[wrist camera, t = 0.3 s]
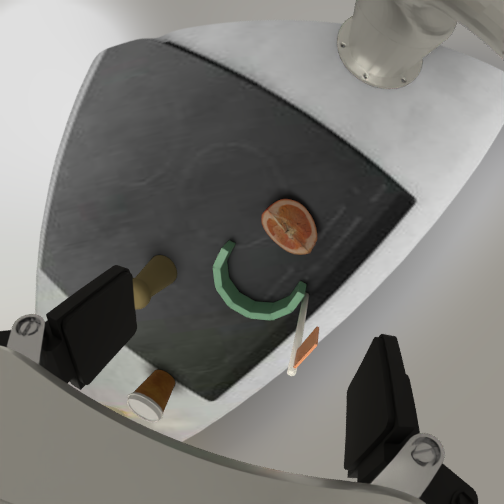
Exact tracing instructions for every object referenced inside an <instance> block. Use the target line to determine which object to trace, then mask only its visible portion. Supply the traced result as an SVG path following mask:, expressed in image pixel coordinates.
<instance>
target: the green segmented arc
mask: <svg viewBox="0 0 504 504" xmlns="http://www.w3.org/2000/svg"><path fill="white" fill-rule="evenodd" d="M234 246H235V243H233V242H232V241H230V240H229V241H228V242H227V243H226V244H225V245H224V246H223V247H222V248H221V251H220V253H219V255H218V257H217V259H216V261H215V263H214V265H213V266H214V267H213V273H214V281H215V288H216V290H217V291H218V293H219V294H220V295H221V297H222V298H223V300H224V301H225V302H226V304H227V305H228V306H230V308H232V309H233V310H235V311H237V312H239V313H240V314H242V315H244V316H246V317H249V316H250V318H252V319H263V320H271V319H272V320H274V319H276V318H279V317H281V316H284V315H286V314H289V313H291V312H292V311H293V310H294V309H295V308H296V306H297V305H298V304H299V302H300V301H301V300H302V303H301V308H300V314H299V319H298V324H297V329H296V334H295V339H294V344H293V348H292V353H291V358H290V362H289V367H288V371H287V374H288V375H290V376H294V375H295V374H296V370H297V367H298V366H299V365H300V364H301V362H302V361H303V360H304V359H305V358H306V357H307V356H308V355H309V354H310V353H311V352H312V351H313V349H314V348H315V347H316V346H317V345H318V335H319V327H316V328H315V329H314V330H313V332H312V333H311V334H310V335H309V336H308V338H307V339H306V340H305V341H304V342H303V343H302V337H303V331H304V325H305V318H306V312H307V305H308V299H309V294H308V293H305V290H306V284H305V283H303V282H302V281H300V282H299V283H298V285H297V286H296V288H295V289H294V290H293V292H292V293H291V295H290V296H288V297H286V298H284V299H281V300H279V301H277V302H274V303H269V302H256V301H254V300H252V299H250V298H248V297H247V296H245V295H243V294H241V293H240V292H239V291H238V290H237V288H236V287H235V285H234V284H233V283H232V281H231V280H230V278H229V273H228V263H227V259H228V257H229V256H230V254H231V252H232V250H233V248H234ZM301 343H302V345H301Z"/></svg>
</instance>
